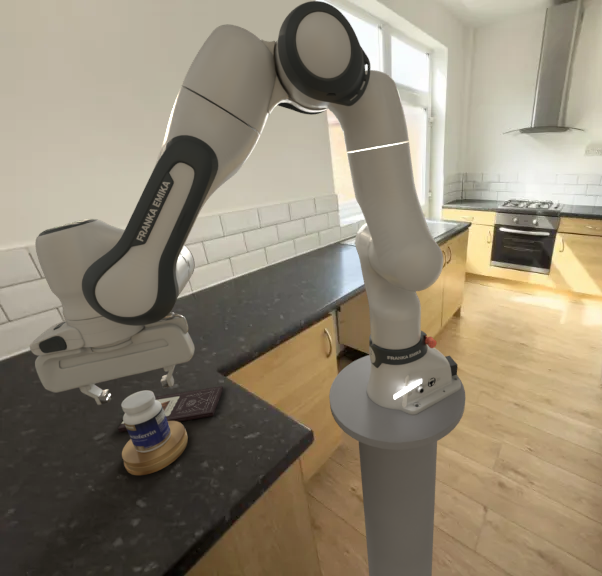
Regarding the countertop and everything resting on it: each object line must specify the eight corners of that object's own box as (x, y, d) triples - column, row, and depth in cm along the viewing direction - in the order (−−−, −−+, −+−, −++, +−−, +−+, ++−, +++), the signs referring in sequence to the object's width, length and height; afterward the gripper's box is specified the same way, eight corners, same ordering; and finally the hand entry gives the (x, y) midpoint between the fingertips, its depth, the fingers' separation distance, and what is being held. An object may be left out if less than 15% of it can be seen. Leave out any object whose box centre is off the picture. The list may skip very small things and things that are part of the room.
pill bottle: (129, 457, 56) (109, 413, 53) (143, 432, 62) (126, 391, 58) (165, 450, 58) (148, 406, 54) (176, 426, 63) (162, 385, 59)
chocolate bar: (212, 412, 69) (117, 428, 65) (213, 415, 69) (119, 432, 66) (222, 386, 77) (138, 399, 73) (223, 389, 77) (140, 402, 74)
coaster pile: (192, 424, 67) (188, 413, 66) (185, 463, 58) (181, 451, 57) (134, 441, 63) (129, 429, 62) (117, 485, 55) (111, 473, 53)
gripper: (185, 303, 57) (205, 367, 62) (38, 329, 50) (74, 399, 55) (180, 317, 52) (202, 386, 57) (13, 349, 44) (56, 425, 50)
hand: (138, 393), depth 56 cm, fingers open, 8 cm apart
